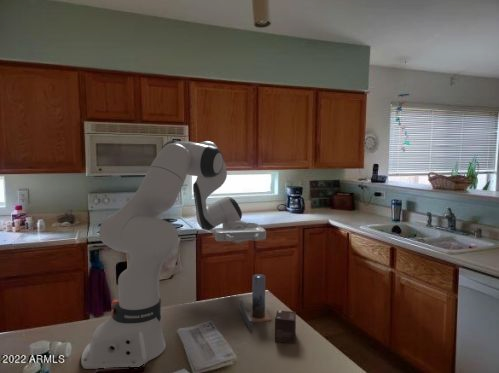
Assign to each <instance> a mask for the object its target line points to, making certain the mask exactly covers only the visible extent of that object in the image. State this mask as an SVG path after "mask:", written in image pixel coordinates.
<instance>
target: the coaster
mask: <svg viewBox="0 0 499 373" xmlns="http://www.w3.org/2000/svg"><path fill="white" fill-rule="evenodd" d="M248 313H249V315H250V316H251V318H252V320H253V323H262V322H272V319H271V317H270V315H269V314H268V312H267V311H266V309H265V317H264V318H260V319H258V318H254V317H253V316H252V311H248Z"/></svg>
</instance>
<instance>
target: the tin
mask: <svg viewBox="0 0 499 373" xmlns="http://www.w3.org/2000/svg"><path fill="white" fill-rule="evenodd" d="M251 286H252V291H251V292H252V296H251V297H252V298H251V299H252V302H251V304H252V305H251V306H252V307H251V308H252V309H251V312H252V316H253V317H254V318H258V319H260V318H264V317H265V310H266V275H264V274H262V273H261V274H260V273H257V274H253V275H252V285H251Z"/></svg>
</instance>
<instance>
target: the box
mask: <svg viewBox="0 0 499 373" xmlns="http://www.w3.org/2000/svg"><path fill="white" fill-rule="evenodd" d="M296 318H297V312H296V311H291V310H289V311H288V310H276V313H275V318H274V342H278V343H287V344H288V343H289V344H295V341H296V331H297V329H296V328H297V327H296V326H297V325H296V321H297V320H296Z"/></svg>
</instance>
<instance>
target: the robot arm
mask: <svg viewBox="0 0 499 373" xmlns="http://www.w3.org/2000/svg"><path fill="white" fill-rule="evenodd" d="M187 175H189V176H195V177H196V180H195V182H194V183H193V185H192V189H193V198H194V204H195V210H196V212H195V213H196V214H195V215H196V222H197V224H198V226H199V228H201V229H202V230H205V231H211V230H213V229H215V228H216V227H218V226H220V225H222V228H217V229H215V231H213V232H212V235H213V236H214V240H215V241H216V242H231V243H237V244H239V243H242V242H246V241H254V242H255V241H256V242H257V241H261V240H262V241H263V240H264V241H265V240H266V239H267V230H266V229H265V228H264V227H262V226H259V224H258V223H255V222H247V221H244V220H242V217H243V213H242V210H241V207H240V205H239V203H238V202H237V201H236V200H235V199H234V198H232V197H231V196H225V197H223V198H221V199H219V200H217V201H215V202H212V203H210V204H208V205H207V199H208V198H209V197H210V195H212V194H213V193H214V192H215V191H217V190H218V189H220V188H221V187H222V186H223V185H224V183H225V182H226V180H227V177H228V172H227V166H226V162H225V160H224V155H223V152H221V150H220V149H219V147H218V146H217V145H216V143H215V142H212V141H210V140H209V141H208V140H207V141H206V140H205V141H201V142H199V143H198V142H195V141H187V140H186V141H181V140H169V141H167V142H166V143H165V144H164V145H162V147H161V149H160V151H159V153H158V154H157V155H156V156H155V158H154V159H153V161H152V163H151V165H150V166H149V168H148V170H147V172H146V174H145V176H144V178H143V179H142V181H141V183H140V185H139V186H138V188H137V190H136V191H135V193H134V194H133V195H132V196H131V197H130V199H128V200H127V202H126V203H124V205H123V206H121V207H120V208H119V209H118V210H117V211H115V212H114V213H112V214H110V215H108V216H106V217H105V218H104V219H103V220H102V222H101V224H100V226H99V231H98V236H99V238H100V241H101V242H102V243H103V244H104V245H105V246H106V247H108V248H110V249H112V250H113V251H116V252H120V253H126V254H128V255H129V263H128V267H127V268H126V269H125V270H123V271H122V272H121V273H120V274H119V276H118V278H117V285H118V287H117V288H118V289H117V290H118V292H117V293H118V299H113V300H112V301H111V305H110V306H111V310H110V314H111V316H110V317H109V318H107V319H106V320H104V322H102V323H101V324H100V325H98V326H97V328H96V329H95V331H93V334H92V336H91V339H90V342H89V343H88V344H87V345H86V346H85V348H84V349H83V350H82V353H81V358H80V359H81V360H80V363H81V366H82V368H83V369H87V370H88V369H89V370H91V369H93V370H95V369H98V368H104V367H105V368H104V369H108V368H107V367H127V366H136V367H137V366H141V365H143V364H144V365H146V364H147V363H148V362H149V361H151V360H153V359H155V358H157V357H159V356H160V355H161V354H162V353H163V352H164V351H165V350H166V347H167V344H166V340H165V337H164V334H163V330H162V329H163V328H162V322H161V321H162V320H161V319H162V310H163V309H162V300H161V298H160V275H161V272H162V271H161V270H162V267H163V264H164V262H165V261H166V259H168V258H169V257H170V256H171V255H172V254H173V253H174V252H175V250H176V248H177V246H178V244H179V243H178V242H179V234H178V230H177V228H176V226H175V225H174V223H173V224H172V223H171V222H168V220H164V219H162V218H159V216H161V214H163V213H165V212H166V211H168V210H170V209H171V208H172V207H173V206H174V205H175V203H176V200H177V199H178V196H179V194H180V192H181V190H182V188H183V185H184V184H185V181H186V179H187V178H186V177H187ZM144 365H143V366H144Z"/></svg>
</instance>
